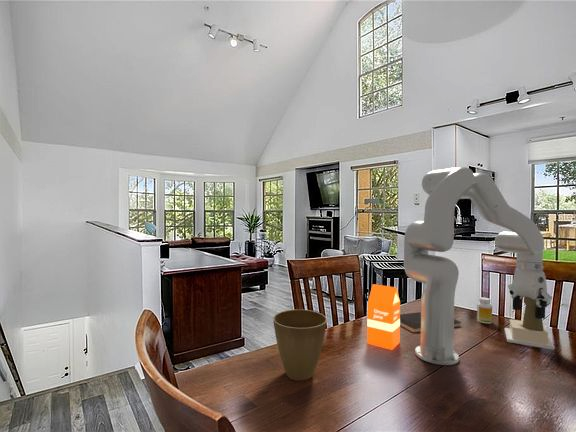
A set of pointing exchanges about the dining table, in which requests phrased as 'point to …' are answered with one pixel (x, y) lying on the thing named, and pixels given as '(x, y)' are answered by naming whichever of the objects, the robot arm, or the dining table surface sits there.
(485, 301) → the supplement bottle
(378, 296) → the orange juice
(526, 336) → the plinth stand
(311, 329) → the plant pot
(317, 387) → the dining table surface
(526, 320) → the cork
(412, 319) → the hardcover book
